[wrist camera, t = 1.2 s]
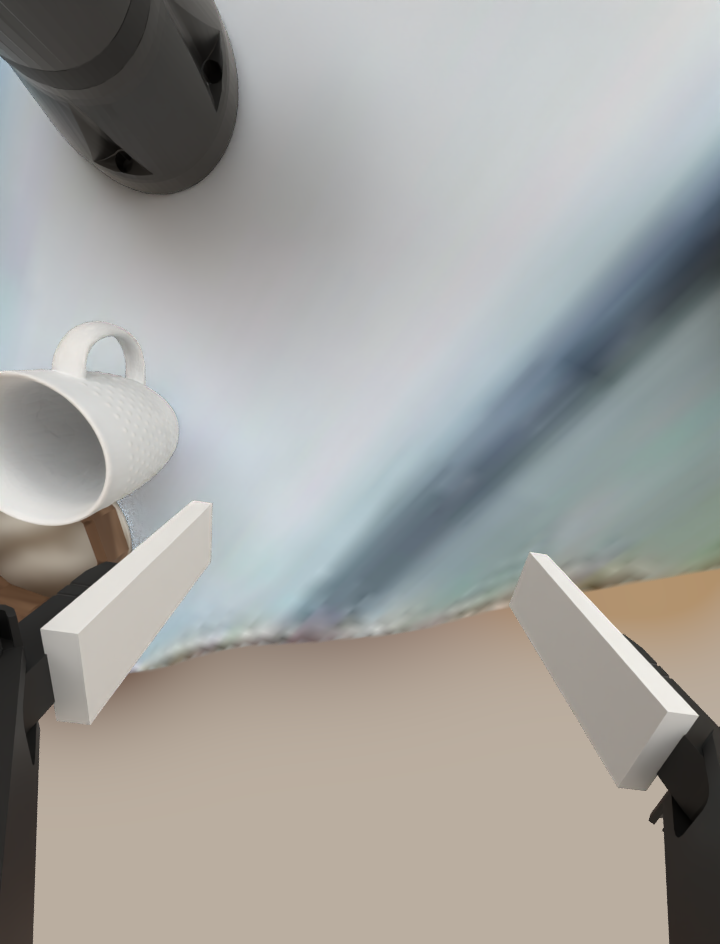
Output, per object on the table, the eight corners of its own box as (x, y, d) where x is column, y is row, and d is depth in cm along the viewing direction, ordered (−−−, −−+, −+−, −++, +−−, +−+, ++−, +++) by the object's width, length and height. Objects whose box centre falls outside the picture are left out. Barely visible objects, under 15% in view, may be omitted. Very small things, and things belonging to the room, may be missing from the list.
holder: (-81, 511, 38) (-128, 526, 35) (31, 412, 35) (-8, 418, 31) (56, 628, 43) (28, 652, 40) (167, 551, 40) (147, 570, 36)
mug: (98, 313, 32) (-71, 279, 19) (213, 348, 33) (121, 337, 20) (91, 457, 36) (-52, 504, 24) (191, 484, 37) (105, 544, 25)
